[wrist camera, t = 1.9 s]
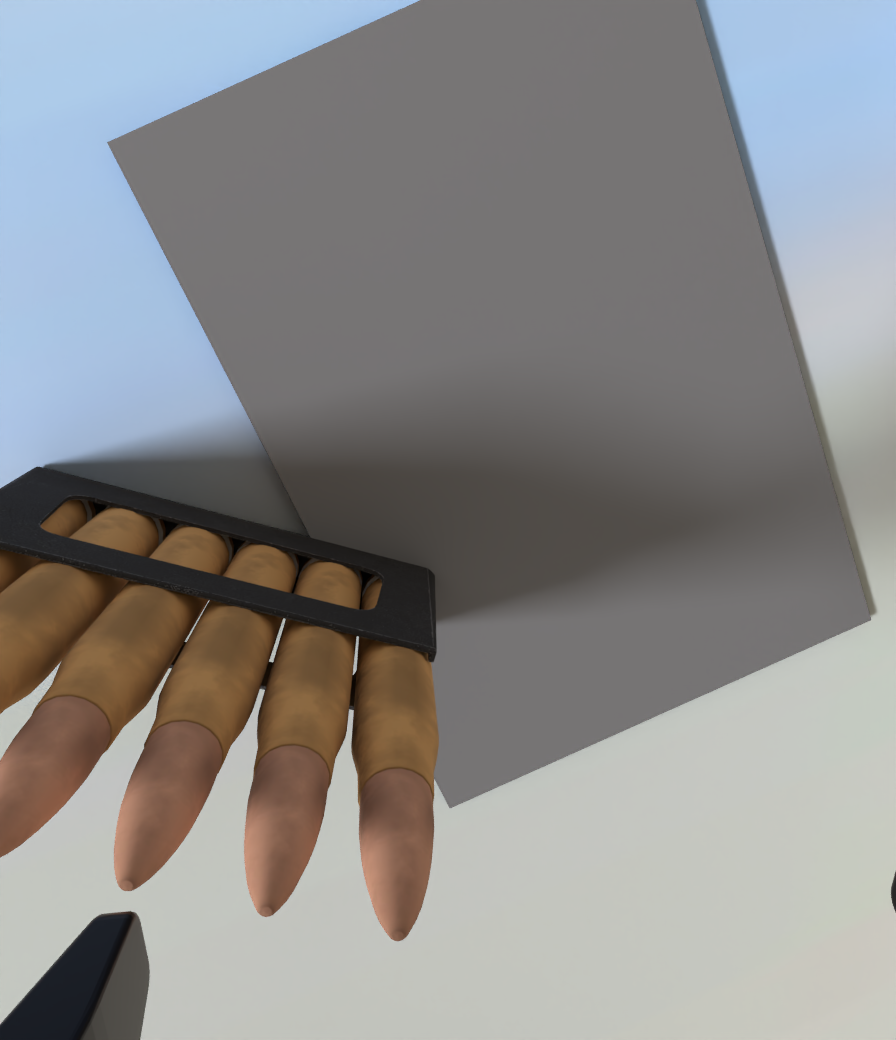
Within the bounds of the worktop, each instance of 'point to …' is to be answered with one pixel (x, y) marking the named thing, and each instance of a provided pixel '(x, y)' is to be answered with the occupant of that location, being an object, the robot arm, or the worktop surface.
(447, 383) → the rubber mat
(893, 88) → the worktop surface
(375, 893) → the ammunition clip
